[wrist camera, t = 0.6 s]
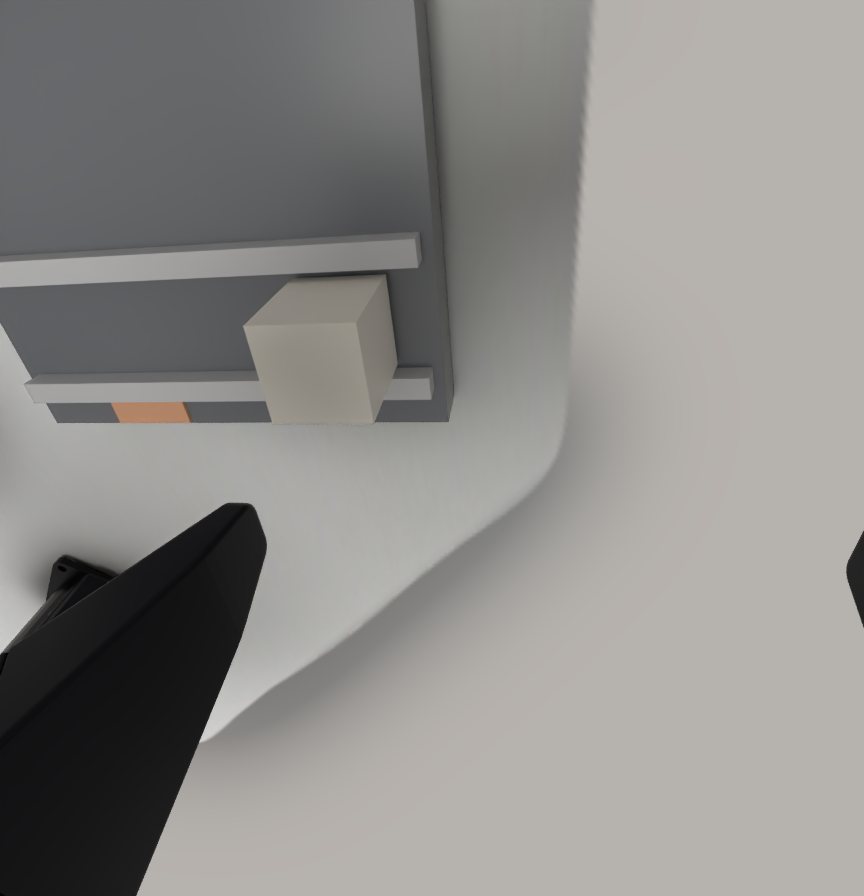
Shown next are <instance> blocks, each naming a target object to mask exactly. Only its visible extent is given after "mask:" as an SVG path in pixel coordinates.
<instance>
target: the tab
mask: <svg viewBox="0 0 864 896" xmlns="http://www.w3.org/2000/svg"><path fill="white" fill-rule="evenodd" d="M243 328H244V331H245V334H246V338H247V341H248V344H249V348H250V351H251V354H252V357H253V361H254V364H255V367H256V371H257V374H258V377H259V381H260V384H261V387H262V391H263V394H264V397H265V401H266V404H267V407H268V411H269V414H270V417H271V420H272V424H374V422H375V420H376V417H377V415H378V412H379V410H380V407H381V405H382V402H383V400H384V397H385V395H386V392H387V390H388V387H389V385H390V382H391V380H392V377H393V375H394V372H395V370H396V367H397V365H398V361H397V354H396V347H395V339H394V332H393V325H392V317H391V310H390V302H389V295H388V288H387V280H386V274H379V275H357V276H336V277H314V278H292V279H291V280H290V281H289V282H288V283H287V284H286V285H285V286H284V287H282V288H281V289H280V290H279V291H278V292H277V293H276V294H275V295H274V296H273V297H272V298H271V299H270V300H269V301H268V302H267V303H266V304H265V305H264V306H263V307H262V308H261V309H260V310H259V311H258V312H257V313H256V314H255V315H254V316H253V317H252V318H251V319H250V320H249V321H248V322H247V323H246V324H245V325H244V326H243Z"/></svg>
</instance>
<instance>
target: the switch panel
mask: <svg viewBox="0 0 864 896" xmlns="http://www.w3.org/2000/svg"><path fill="white" fill-rule="evenodd" d="M379 274H386V280H387V288H388V295H389V302H390V310H391V317H392V325H393V332H394V339H395V347H396V354H397V361H398V365H397V367H396V370H395V372H394V375H393V377H392V380H391V382H390V385H389V387H388V390H387V392H386V395H385V397H384V400H383V402H382V405H381V407H380V410H379V412H378V415H377V417H376V420H375V422H449V417H450V412H451V407H452V402H453V397H454V386H453V373H452V359H451V345H450V332H449V318H448V304H447V291H446V277H445V263H444V250H443V236H442V222H441V209H440V195H439V181H438V168H437V154H436V140H435V127H434V113H433V99H432V86H431V72H430V58H429V45H428V31H427V17H426V4H425V0H0V323H1V325H2V326H3V328H4V330H5V332H6V333H7V335H8V337H9V339H10V340H11V342H12V344H13V346H14V348H15V349H16V351H17V353H18V355H19V356H20V358H21V360H22V362H23V363H24V365H25V367H26V369H27V370H28V372H29V374H30V376H31V377H32V379H31V380H30V381H28V382H27V383H25V384H24V386H25V388H26V389H27V391H28V393H29V395H30V396H31V398H32V400H33V401H34V403H46V404H47V406H48V407H49V409H50V411H51V413H52V414H53V416H54V418H55V420H56V421H57V423H231V422H272V420H271V417H270V414H269V411H268V407H267V404H266V401H265V397H264V394H263V391H262V387H261V384H260V381H259V377H258V374H257V371H256V367H255V364H254V361H253V357H252V354H251V351H250V348H249V344H248V341H247V338H246V334H245V331H244V328H243V326H244V325H245V324H246V323H247V322H248V321H249V320H250V319H251V318H252V317H253V316H254V315H255V314H256V313H257V312H258V311H259V310H260V309H261V308H262V307H263V306H264V305H265V304H266V303H267V302H268V301H269V300H270V299H271V298H272V297H273V296H274V295H275V294H276V293H277V292H278V291H279V290H280V289H281V288H282V287H284V286H285V285H286V284H287V283H288V282H289V281H290V280H291V279H292V278H314V277H336V276H357V275H379Z"/></svg>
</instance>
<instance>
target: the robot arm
mask: <svg viewBox="0 0 864 896" xmlns="http://www.w3.org/2000/svg"><path fill="white" fill-rule="evenodd" d="M266 550H267V542H266V537H265V534H264V532H263V529H262V526H261V523H260V520H259V518H258V515H257V512H256V510H255V508H254V507H253V505H251V504H249V503H227V504H224V505H223V506H221V507H220V508H218V509H217V510H215V511H214V512H212V513H211V514H209V515H208V516H206V517H205V518H203V519H202V520H200V521H199V522H197V523H196V524H194V525H193V526H191V527H190V528H188V529H187V530H185V531H184V532H182V533H181V534H179V535H178V536H176V537H175V538H173V539H172V540H170V541H169V542H167V543H166V544H164V545H163V546H161V547H160V548H158V549H157V550H155V551H154V552H152V553H151V554H149V555H148V556H147V557H145V558H144V559H142V560H141V561H139V562H138V563H136V564H135V565H133V566H132V567H130V568H129V569H127V570H126V571H124V572H123V573H121V574H120V575H118V576H117V577H115V578H112V577H110V576H107V575H105V574H103V573H100V572H98V571H96V570H93V569H91V568H89V567H87V566H84V565H82V564H80V563H77V562H75V561H73V560H70V559H68V558H65V557H60V558H59V559H58V560H57V561H56V562H55V563H54V564H53V568H52V573H51V578H50V583H49V588H48V593H47V598H46V602H45V603H44V604H43V606H42V607H41V608H40V609H39V610H38V611H37V613H36V614H35V615H34V616H33V617H32V618H31V619H30V621H29V622H28V623H27V624H26V625H25V626H24V628H23V629H22V630H21V631H20V632H19V633H18V634H17V636H16V637H15V638H14V639H13V640H12V641H11V643H10V644H9V645H8V646H7V647H6V648H5V649H4V651H3V652H2V653H1V654H0V896H136V895H137V892H138V890H139V888H140V885H141V883H142V881H143V878H144V875H145V873H146V871H147V868H148V866H149V863H150V861H151V858H152V856H153V854H154V851H155V849H156V846H157V844H158V841H159V839H160V836H161V834H162V832H163V829H164V827H165V824H166V822H167V819H168V817H169V814H170V812H171V810H172V807H173V805H174V802H175V800H176V797H177V795H178V792H179V790H180V788H181V785H182V783H183V780H184V778H185V775H186V773H187V770H188V768H189V766H190V763H191V760H192V758H193V756H194V753H195V751H196V748H197V746H198V743H199V741H200V739H201V736H202V734H203V731H204V729H205V726H206V724H207V721H208V719H209V717H210V714H211V712H212V709H213V707H214V704H215V702H216V699H217V697H218V695H219V692H220V690H221V687H222V685H223V682H224V680H225V677H226V675H227V673H228V670H229V668H230V665H231V663H232V660H233V658H234V655H235V653H236V650H237V648H238V645H239V643H240V640H241V637H242V634H243V631H244V628H245V625H246V621H247V618H248V614H249V611H250V608H251V604H252V601H253V597H254V594H255V590H256V587H257V583H258V580H259V576H260V573H261V569H262V566H263V562H264V559H265V555H266ZM846 572H847V579H848V583H849V586H850V589H851V591H852V595H853V597H854V600H855V603H856V606H857V609H858V612H859V615H860V618H861V621H862V624H863V627H864V531H863V533H862V535H861V537H860V539H859V541H858V543H857V545H856V547H855V549H854V551H853V553H852V555H851V557H850V559H849V561H848V564H847V571H846Z"/></svg>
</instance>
